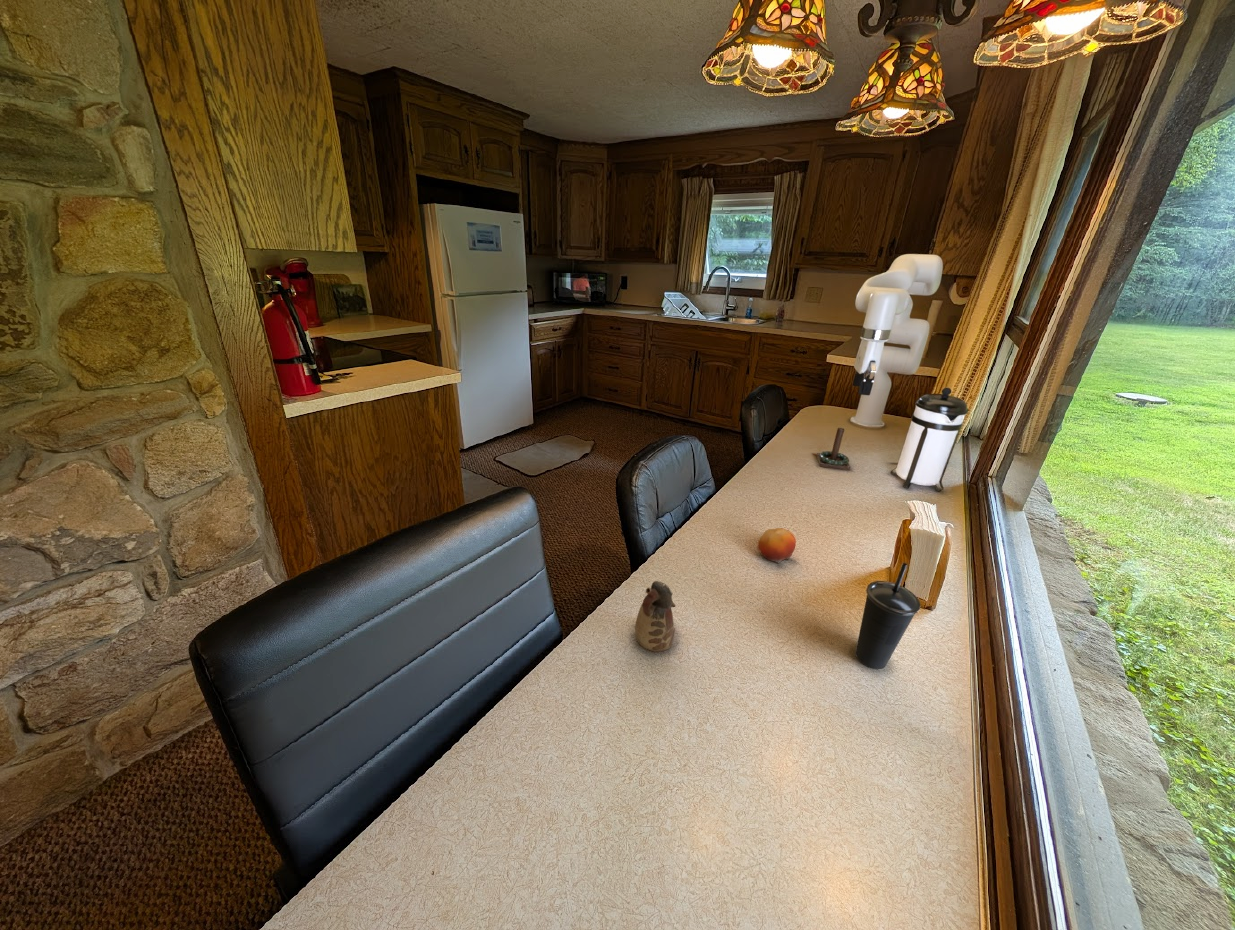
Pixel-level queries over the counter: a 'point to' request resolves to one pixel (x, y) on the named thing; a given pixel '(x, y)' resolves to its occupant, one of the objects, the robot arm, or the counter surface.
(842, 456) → the ring
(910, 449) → the coffee press
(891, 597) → the drinking cup
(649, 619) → the figurine
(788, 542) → the fruit
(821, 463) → the brown peg stand
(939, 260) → the robot arm
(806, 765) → the counter surface
